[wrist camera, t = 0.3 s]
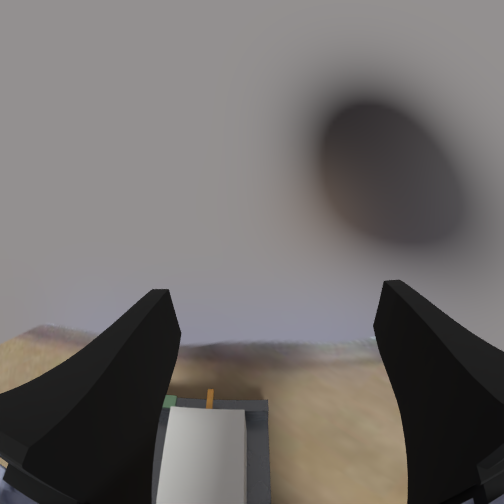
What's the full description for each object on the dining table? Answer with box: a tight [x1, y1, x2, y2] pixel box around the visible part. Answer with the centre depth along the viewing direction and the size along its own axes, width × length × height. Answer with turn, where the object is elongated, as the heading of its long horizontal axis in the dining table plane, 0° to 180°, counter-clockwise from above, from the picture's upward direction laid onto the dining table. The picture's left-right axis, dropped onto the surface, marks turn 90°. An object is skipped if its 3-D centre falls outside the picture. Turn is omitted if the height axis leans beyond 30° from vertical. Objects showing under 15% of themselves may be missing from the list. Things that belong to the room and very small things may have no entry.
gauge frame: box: [152, 395, 271, 504], centre depth 17 cm, size 16×18×6 cm
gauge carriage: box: [156, 389, 247, 504], centre depth 18 cm, size 14×6×5 cm, turn 0°
